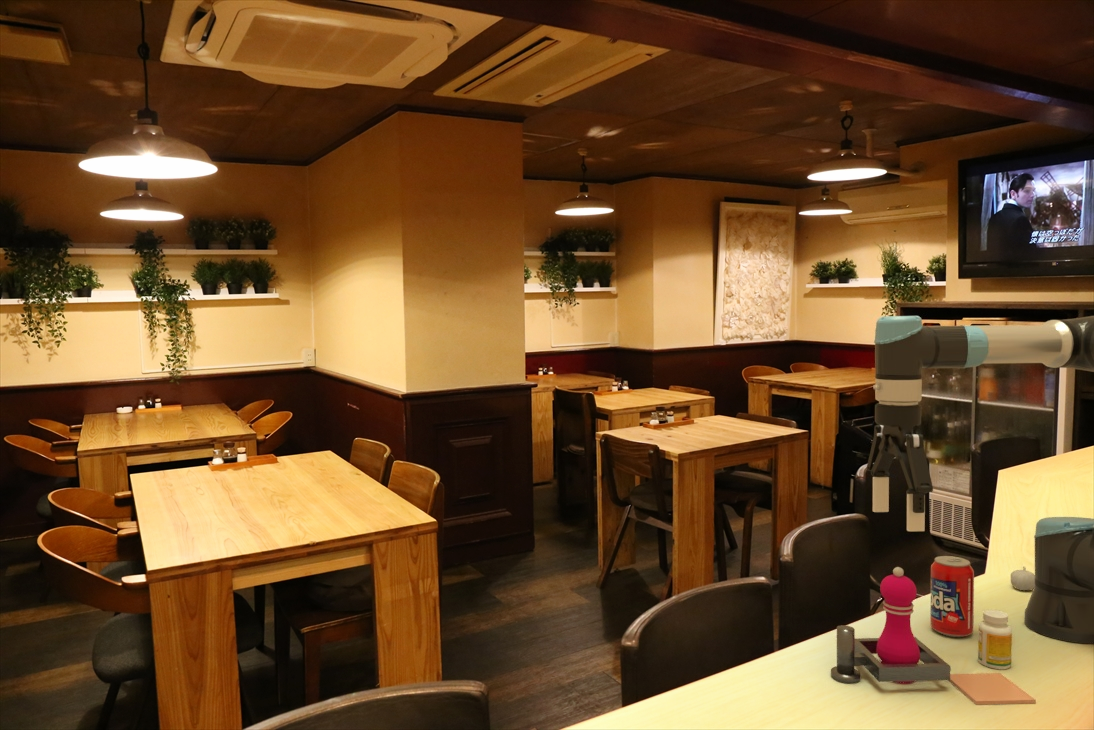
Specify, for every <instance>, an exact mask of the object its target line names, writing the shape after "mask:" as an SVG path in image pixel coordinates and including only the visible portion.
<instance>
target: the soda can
mask: <svg viewBox="0 0 1094 730" xmlns="http://www.w3.org/2000/svg"><path fill="white" fill-rule="evenodd" d="M974 570H975V569H973V567H972V566H971V562H970V560H968V559H966V558H963V557H957V556H950V555H940V556H936V557H934V561H933V563H932V564H931V565H930V615H929V616H930V622H929V623H930V626H931V628H932V629H933V630H934V631H935V632H936V633H939V634H940V633H941V634H940V635H942V634H943V636H945V635H946V637H949V636H951V638H963V637H964V636H965V637H967V636H970V635H972V634H973V632H974V625H975V624H974V617H975V615H974V614H975V613H974V611H975V606H974V603H975V601H974V600H975V571H974Z"/></svg>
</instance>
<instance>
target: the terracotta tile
mask: <svg viewBox="0 0 1094 730" xmlns="http://www.w3.org/2000/svg"><path fill="white" fill-rule="evenodd" d="M947 681H948V682H949V683H950V684H951V685H953V687H955V688H956V689H957V690H958V691H960V692H961V693H962V694H963V695H964V696H966V698H967V699H969V700H970V701H971V702H972V703H974V704H975V705H976V706H981V705H982V706H983V705H1015V704H1016V705H1018V704H1020V705H1022V704H1025V705H1026V704H1036V703H1037V702H1036V698H1034V697H1033V696H1032V695H1030V694H1029V693H1027V692H1026V691H1025V690H1024V689H1022V688H1021V687H1020V686H1018V685H1017V684H1015V682H1013V681H1011V680H1010V679H1008V678H1007V676H1005V675H1004V674H1002V673H1001V672H989V673H987V672H985V673H983V672H982V673H950V680H947Z"/></svg>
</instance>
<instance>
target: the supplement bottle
mask: <svg viewBox="0 0 1094 730" xmlns="http://www.w3.org/2000/svg"><path fill="white" fill-rule="evenodd" d="M982 619H983V620H982V621H980V622H979V625H978V643H977V646H978V647H977V659H978V662H979V663H980V664H981V665H983V666H984V667H987V668H990V669H994V670H995V669H996V670H1007V669H1009V668H1011V666H1012V649H1013V648H1012V645H1013V643H1012V642H1013V640H1012V639H1013V630H1012V628H1011V626H1009V624H1008V622H1009V615H1008V613H1006V612H1004V611H1001V610H997V609H986V610H983V612H982Z"/></svg>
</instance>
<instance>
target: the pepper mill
mask: <svg viewBox="0 0 1094 730" xmlns="http://www.w3.org/2000/svg"><path fill="white" fill-rule="evenodd" d="M904 572H905V571H904V569H903V568H902V567H900V566H896V567H894V568H893V570H892V573H893V574H890V575H886V576H885V577H884V578H883V579H882V580H881V583H880V586H879V587H880V588H879V590H880V594H881V596H882V598H883V599H884V600H882V604H883V606H882V609H883V610H884V611H885V623H884V627H883V630H882V632H881V634H880V635H879V637H878V638H879V639H878V642H877V648H876V653H877V654H876V655H877V657H878V658H879V660H880V662H881V663H882V664H919V662H920V661H921V660H920V650H919V647H918V644H917V642H916V640H915V638H914V637H915V636H914V634H913V633H914V632H913V631H912V625H911V615H912V614H913V613H914V606H915V605H914V603H913V602H914V600H915V599H916V598H917V594H918V593H917V592H918V591H917V587H916V584H915V583H914V581H913V580H912V579H911V578H909V577H907V576H905V575H904ZM894 683H895V684H903V685H905V684H907V685H908V684H913V683H916V681H895V682H894Z"/></svg>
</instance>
